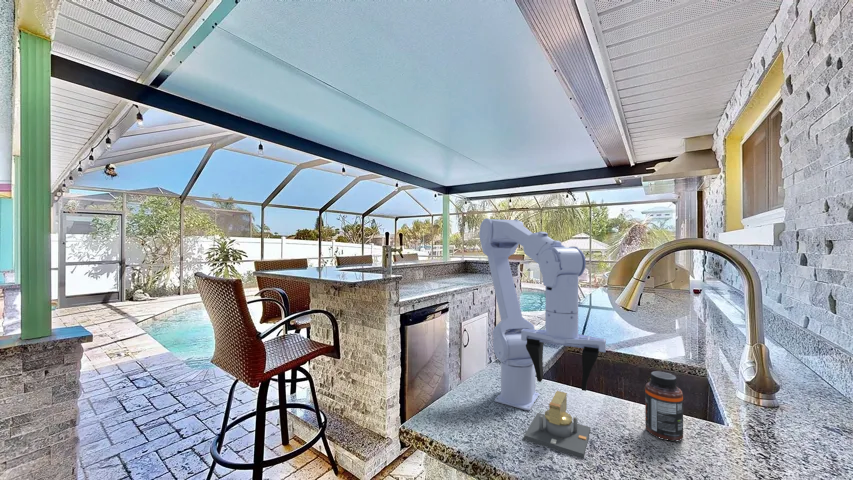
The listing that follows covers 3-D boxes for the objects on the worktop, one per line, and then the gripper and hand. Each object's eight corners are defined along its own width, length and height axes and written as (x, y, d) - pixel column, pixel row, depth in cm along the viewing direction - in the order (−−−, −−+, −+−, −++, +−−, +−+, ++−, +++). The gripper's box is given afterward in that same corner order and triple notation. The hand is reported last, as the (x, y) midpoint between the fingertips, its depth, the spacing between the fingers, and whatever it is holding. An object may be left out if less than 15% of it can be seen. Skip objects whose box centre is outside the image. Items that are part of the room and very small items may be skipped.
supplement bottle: (647, 422, 68) (646, 366, 68) (683, 432, 64) (683, 374, 64) (643, 434, 63) (643, 375, 63) (682, 447, 59) (682, 383, 60)
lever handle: (549, 407, 67) (549, 388, 67) (574, 414, 64) (574, 394, 64) (540, 423, 61) (540, 402, 61) (568, 431, 58) (568, 409, 58)
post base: (537, 416, 69) (537, 400, 69) (590, 431, 64) (590, 413, 64) (524, 439, 61) (524, 420, 61) (583, 458, 56) (583, 438, 56)
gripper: (517, 310, 62) (516, 383, 62) (604, 319, 55) (605, 401, 54) (526, 305, 68) (525, 371, 68) (605, 312, 61) (606, 386, 61)
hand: (561, 384), depth 62 cm, fingers open, 7 cm apart
